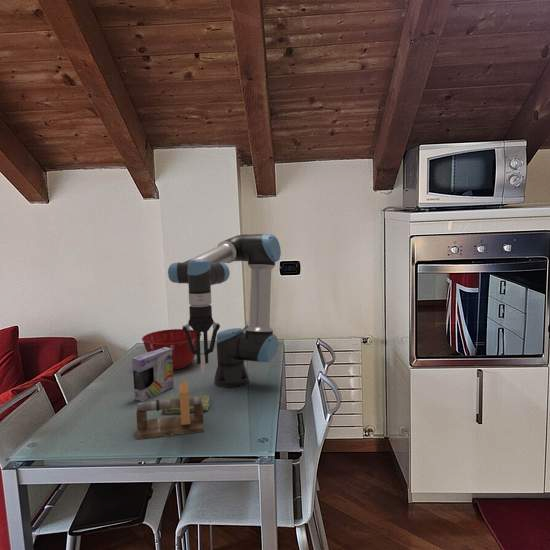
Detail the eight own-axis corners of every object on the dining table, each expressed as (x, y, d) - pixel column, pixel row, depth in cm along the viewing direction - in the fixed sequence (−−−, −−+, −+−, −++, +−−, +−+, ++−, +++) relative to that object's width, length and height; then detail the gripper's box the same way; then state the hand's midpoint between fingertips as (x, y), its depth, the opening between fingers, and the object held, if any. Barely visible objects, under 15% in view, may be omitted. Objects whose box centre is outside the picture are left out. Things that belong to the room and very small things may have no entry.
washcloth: (209, 413, 180) (209, 404, 180) (161, 416, 178) (160, 408, 178) (210, 400, 193) (210, 392, 193) (165, 403, 191) (164, 395, 191)
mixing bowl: (208, 369, 232) (207, 338, 230) (147, 378, 221) (145, 345, 219) (195, 355, 258) (194, 326, 256) (140, 362, 247) (138, 332, 246)
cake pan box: (140, 403, 192) (137, 359, 190) (131, 400, 194) (128, 357, 192) (175, 388, 208) (172, 347, 206) (166, 386, 210) (164, 346, 208)
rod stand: (202, 417, 175) (200, 390, 174) (204, 431, 164) (202, 402, 162) (139, 424, 171) (137, 396, 170) (136, 439, 159) (134, 409, 158)
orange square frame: (189, 411, 174) (187, 381, 172) (190, 423, 163) (188, 392, 162) (180, 412, 173) (179, 382, 172) (181, 424, 162) (179, 393, 161)
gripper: (181, 307, 160) (184, 377, 162) (220, 305, 163) (223, 374, 165) (180, 304, 167) (183, 371, 170) (218, 302, 170) (221, 368, 172)
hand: (203, 372), depth 167 cm, fingers closed
